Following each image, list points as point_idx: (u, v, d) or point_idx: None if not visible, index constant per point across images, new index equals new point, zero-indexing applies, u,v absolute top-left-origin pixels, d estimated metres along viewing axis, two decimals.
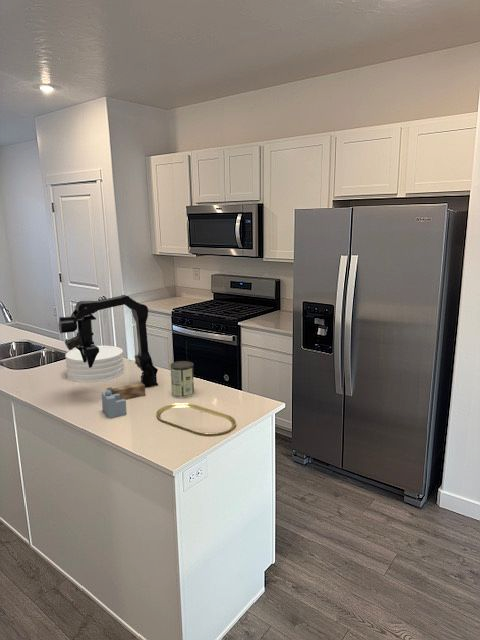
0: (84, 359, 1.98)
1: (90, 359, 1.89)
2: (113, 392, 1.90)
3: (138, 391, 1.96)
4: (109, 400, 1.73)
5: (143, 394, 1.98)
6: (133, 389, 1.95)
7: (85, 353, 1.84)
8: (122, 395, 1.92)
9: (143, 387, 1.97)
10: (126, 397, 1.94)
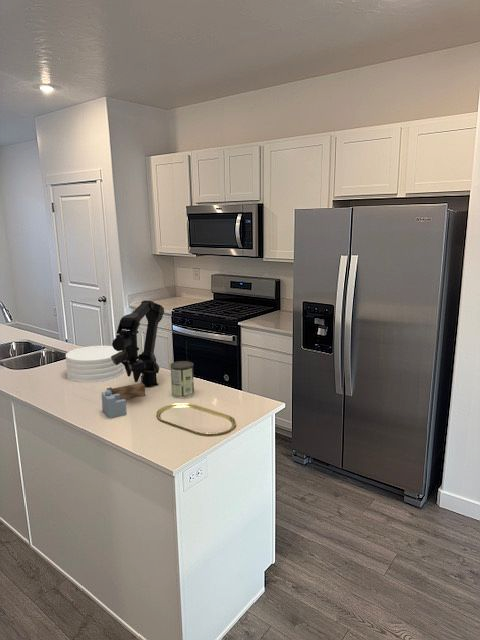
0: (128, 373, 1.99)
1: (136, 374, 1.90)
2: (113, 392, 1.90)
3: (138, 391, 1.96)
4: (109, 400, 1.73)
5: (143, 394, 1.98)
6: (133, 389, 1.95)
7: (132, 368, 1.85)
8: (122, 395, 1.92)
9: (143, 387, 1.97)
10: (126, 397, 1.94)
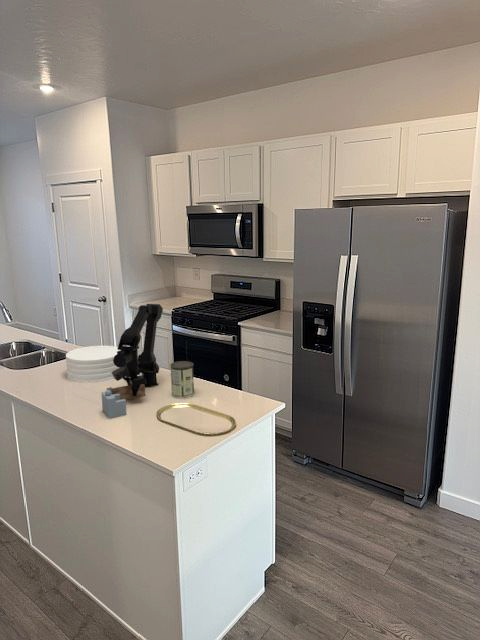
0: None
1: (135, 388, 1.94)
2: (113, 392, 1.90)
3: (138, 391, 1.96)
4: (109, 400, 1.73)
5: (143, 394, 1.98)
6: None
7: (133, 384, 1.87)
8: (122, 395, 1.92)
9: (143, 387, 1.97)
10: (126, 397, 1.94)
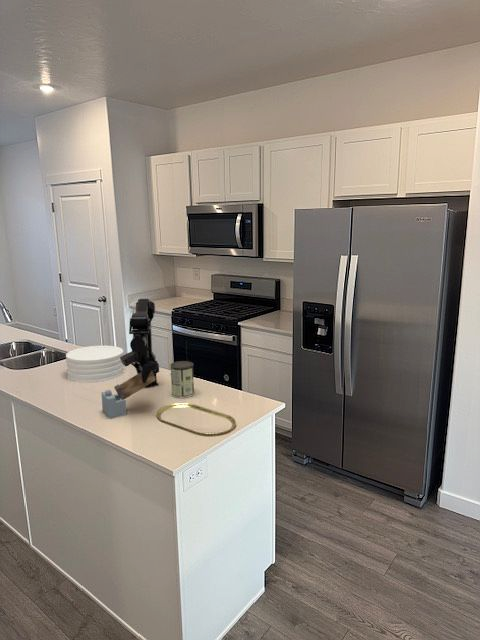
0: None
1: (144, 374, 1.81)
2: (121, 389, 1.78)
3: None
4: (109, 400, 1.73)
5: (153, 379, 1.85)
6: (140, 378, 1.82)
7: (143, 370, 1.74)
8: (132, 388, 1.80)
9: (151, 372, 1.84)
10: (137, 388, 1.82)
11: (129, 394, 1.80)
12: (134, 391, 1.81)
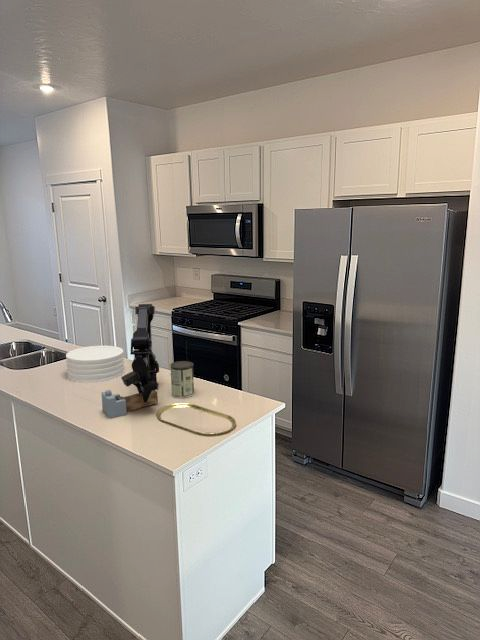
0: None
1: (146, 394, 1.83)
2: None
3: (150, 398, 1.86)
4: (109, 400, 1.73)
5: (156, 401, 1.87)
6: None
7: (144, 390, 1.76)
8: (134, 403, 1.82)
9: (155, 394, 1.87)
10: (138, 406, 1.83)
11: (129, 409, 1.81)
12: (135, 407, 1.83)
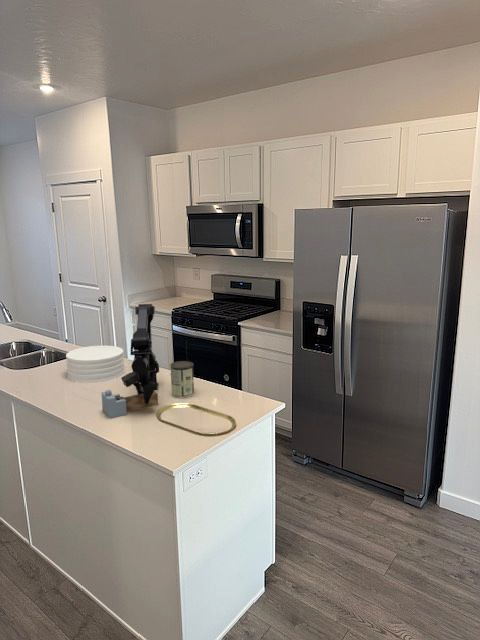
0: None
1: (147, 395, 1.82)
2: None
3: (151, 400, 1.86)
4: (109, 400, 1.73)
5: (156, 403, 1.88)
6: None
7: (144, 391, 1.76)
8: (134, 404, 1.82)
9: (156, 396, 1.87)
10: (138, 406, 1.83)
11: (129, 409, 1.81)
12: (135, 408, 1.83)
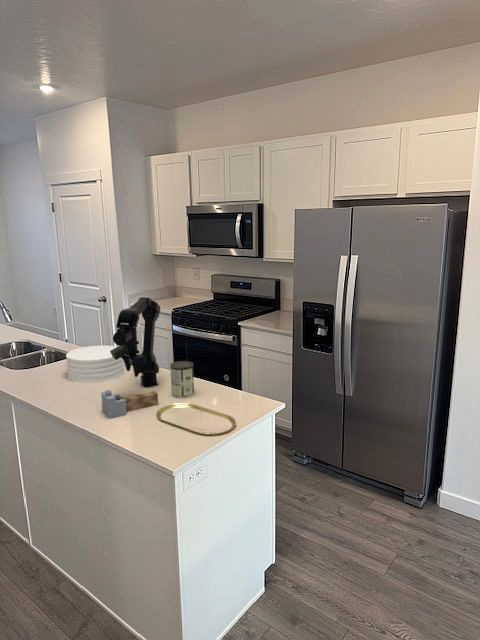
0: (127, 367, 1.95)
1: (136, 368, 1.87)
2: None
3: (151, 400, 1.86)
4: (109, 400, 1.73)
5: (156, 403, 1.88)
6: (145, 398, 1.84)
7: (133, 363, 1.82)
8: (134, 404, 1.82)
9: (156, 396, 1.87)
10: (138, 406, 1.83)
11: (129, 409, 1.81)
12: (135, 408, 1.83)
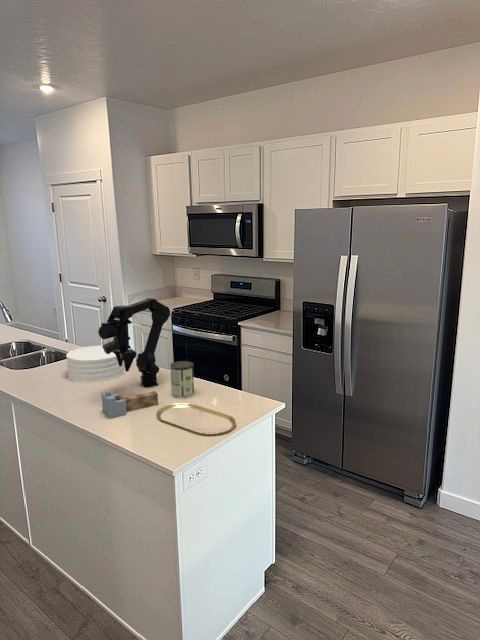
0: (119, 363, 2.01)
1: (127, 363, 1.92)
2: None
3: (151, 400, 1.86)
4: (109, 400, 1.73)
5: (156, 403, 1.88)
6: (145, 398, 1.84)
7: (123, 357, 1.87)
8: (134, 404, 1.82)
9: (156, 396, 1.87)
10: (138, 406, 1.83)
11: (129, 409, 1.81)
12: (135, 408, 1.83)
